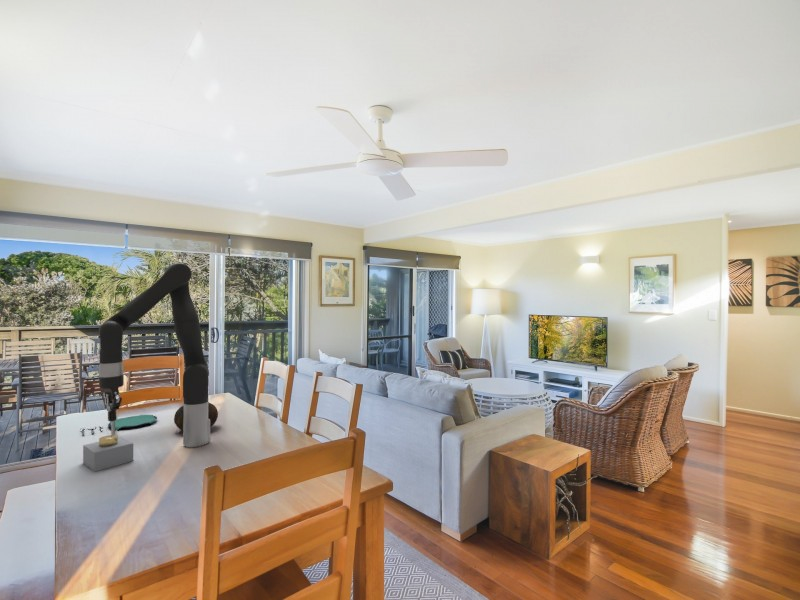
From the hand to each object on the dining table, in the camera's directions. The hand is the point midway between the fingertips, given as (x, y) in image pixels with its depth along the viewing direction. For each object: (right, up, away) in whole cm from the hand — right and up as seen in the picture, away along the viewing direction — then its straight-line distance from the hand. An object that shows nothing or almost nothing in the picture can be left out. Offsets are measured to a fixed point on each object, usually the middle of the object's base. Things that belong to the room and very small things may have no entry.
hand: (112, 420), depth 152 cm
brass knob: (+1, -14, -3) cm, 14 cm away
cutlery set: (-25, -15, +40) cm, 50 cm away
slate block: (+1, -14, -3) cm, 15 cm away
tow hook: (-12, -15, +13) cm, 23 cm away
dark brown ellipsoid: (+14, -15, +35) cm, 40 cm away
